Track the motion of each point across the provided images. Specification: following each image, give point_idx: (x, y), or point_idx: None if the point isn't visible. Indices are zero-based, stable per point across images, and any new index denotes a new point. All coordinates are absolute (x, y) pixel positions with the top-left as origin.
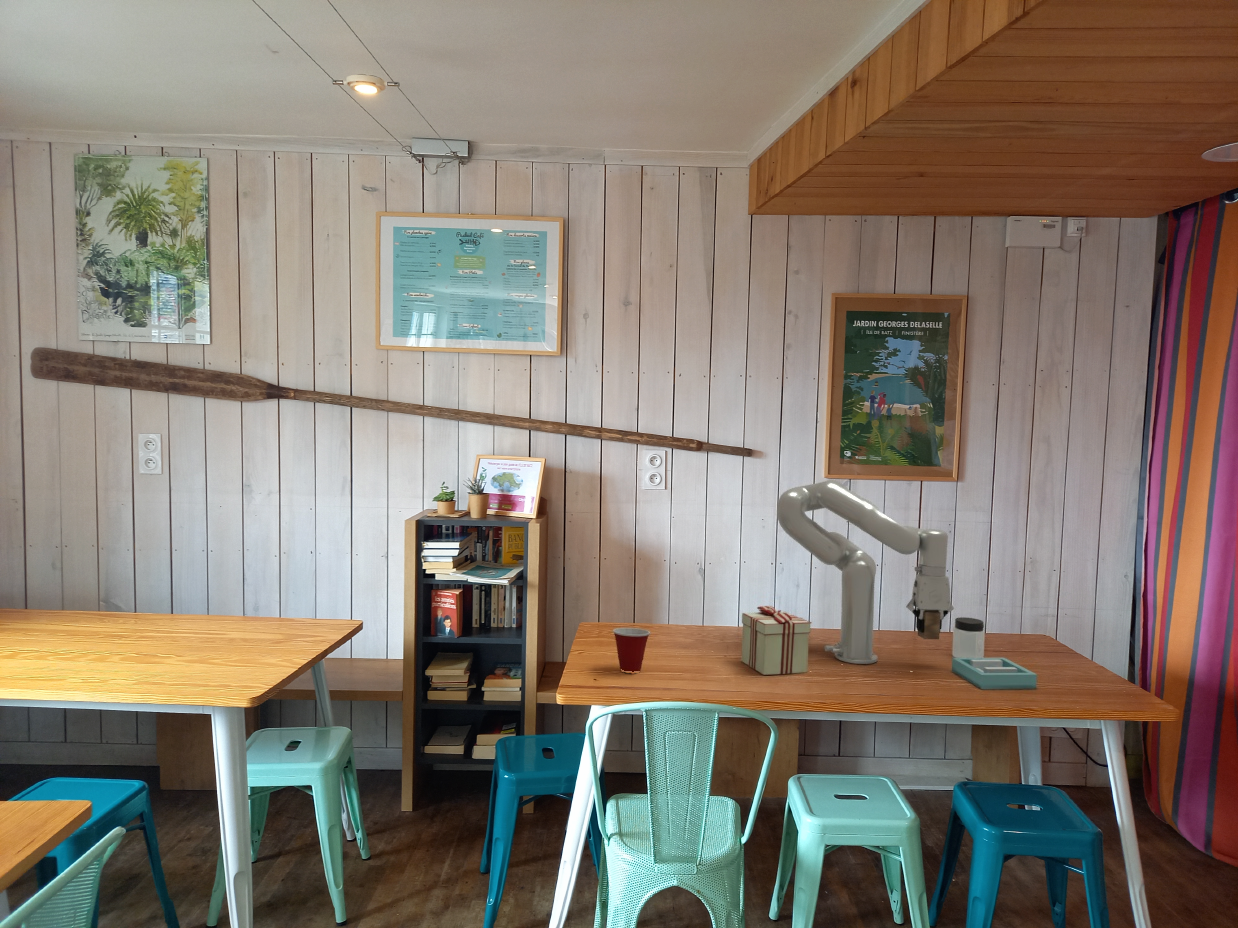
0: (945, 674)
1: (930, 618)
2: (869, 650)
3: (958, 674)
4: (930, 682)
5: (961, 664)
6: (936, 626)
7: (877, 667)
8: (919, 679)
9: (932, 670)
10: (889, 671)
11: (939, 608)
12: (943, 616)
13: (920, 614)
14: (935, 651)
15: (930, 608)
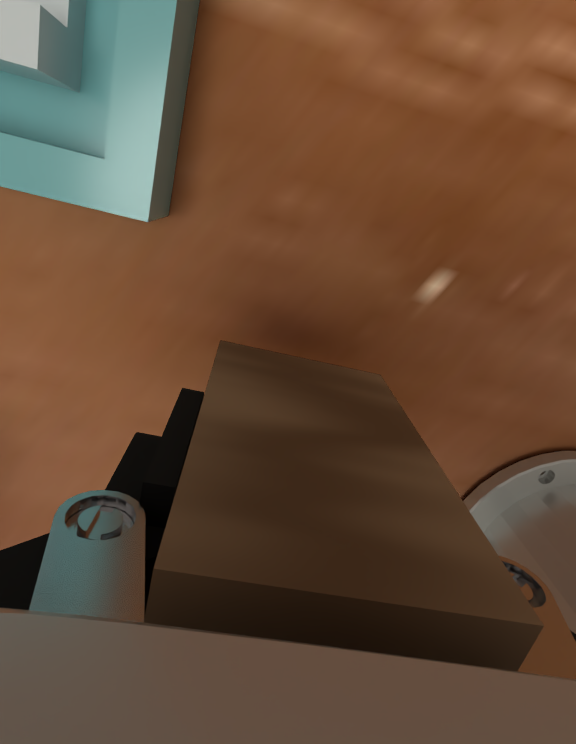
0: (263, 161)
1: (387, 505)
2: (573, 520)
3: (182, 113)
4: (507, 21)
5: (173, 44)
6: (257, 410)
7: (562, 394)
8: (522, 112)
9: (289, 265)
10: (561, 315)
11: (222, 667)
12: (58, 529)
13: (556, 630)
14: None
15: (553, 702)
